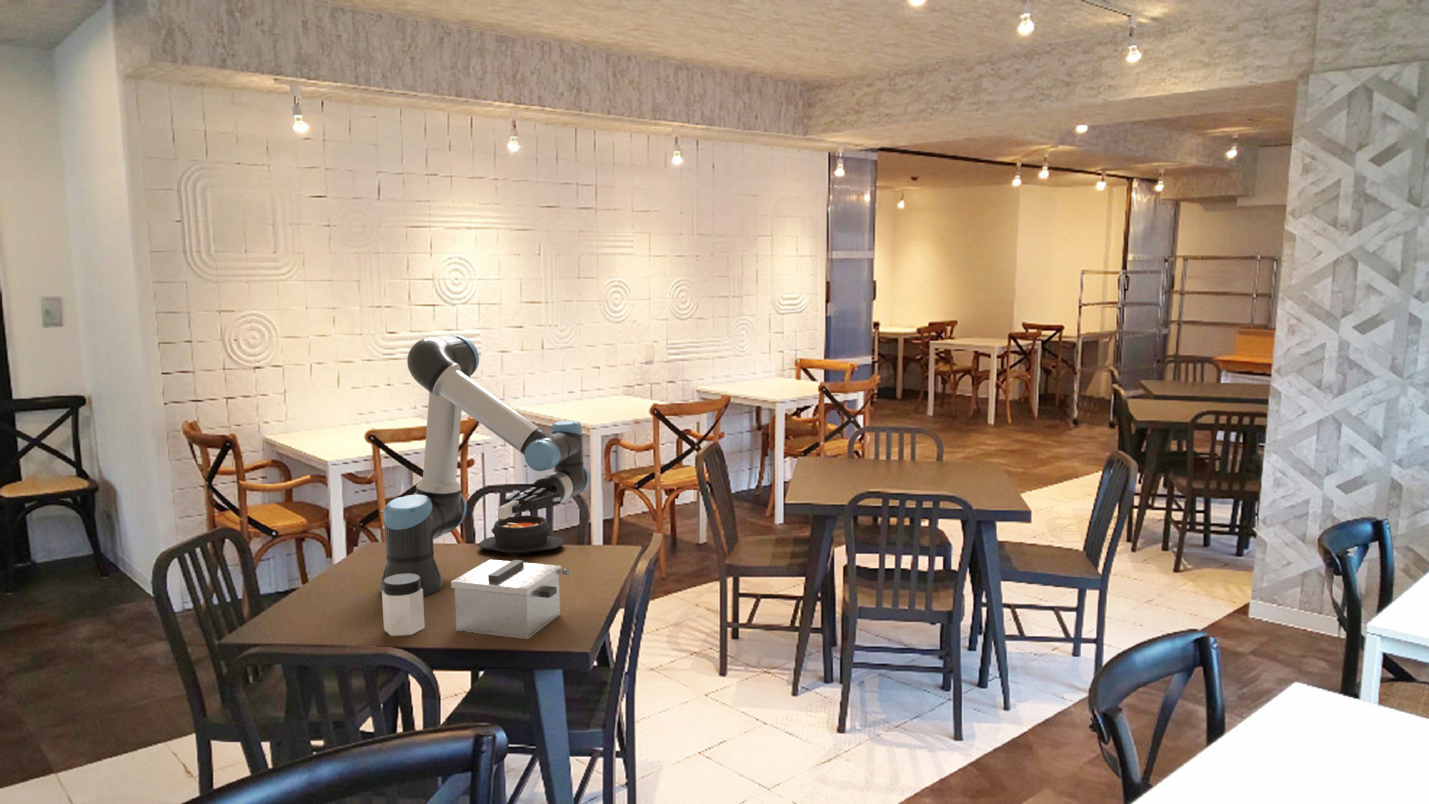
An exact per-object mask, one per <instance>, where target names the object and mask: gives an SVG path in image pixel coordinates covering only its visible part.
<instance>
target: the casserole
mask: <svg viewBox="0 0 1429 804" xmlns="http://www.w3.org/2000/svg"><path fill="white" fill-rule="evenodd" d="M550 529H551V525H549V523H548V520H547V519H546V518H545V517H542V516H539V515H513V516H510V517H508V518H506V519H498V520H496V521H495V523H494V525H493V527H492V528H491V532H492V534H493V535H494V536H490V537H487V538H484V539H482V540H481V541H479V543H478V547H479V548H481V549H484V550H491V551H492V550H493V551H496V552H501V553H505V554H510V555H525V554H532V553H535V552H538V551H550V550H555V549H557V548H559V547H561V546H563V545H564V543H565V539H563V537H560V536H559V537H558V536H550V535H548V534H549V531H550Z"/></svg>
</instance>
